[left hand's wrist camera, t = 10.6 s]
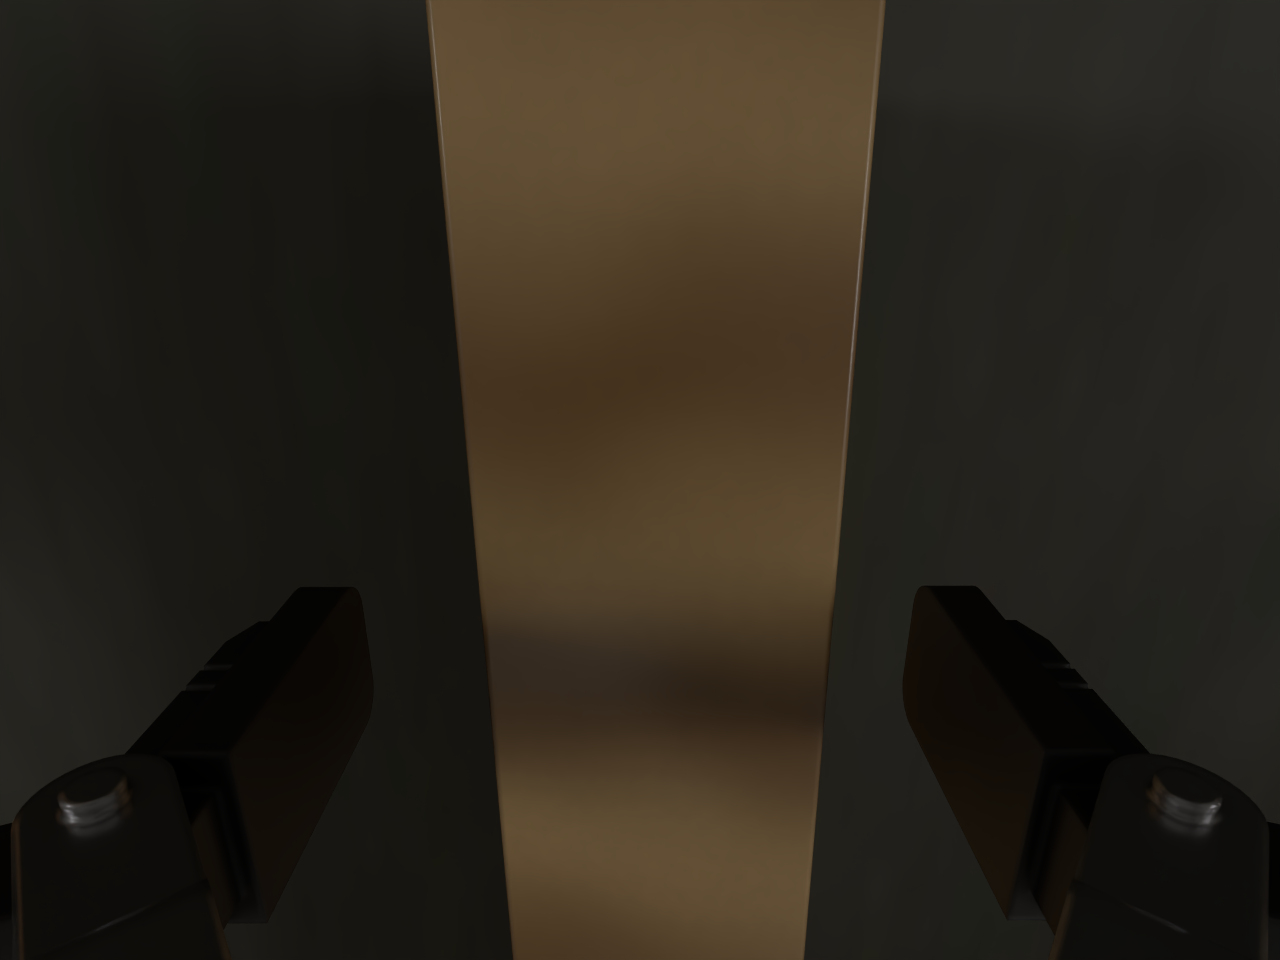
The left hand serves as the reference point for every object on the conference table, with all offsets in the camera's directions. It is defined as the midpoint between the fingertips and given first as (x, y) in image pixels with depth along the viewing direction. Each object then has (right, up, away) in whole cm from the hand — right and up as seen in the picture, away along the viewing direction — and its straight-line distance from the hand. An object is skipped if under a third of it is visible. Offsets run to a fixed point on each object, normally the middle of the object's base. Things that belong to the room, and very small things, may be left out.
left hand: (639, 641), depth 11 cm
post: (0, -14, +14) cm, 19 cm away
